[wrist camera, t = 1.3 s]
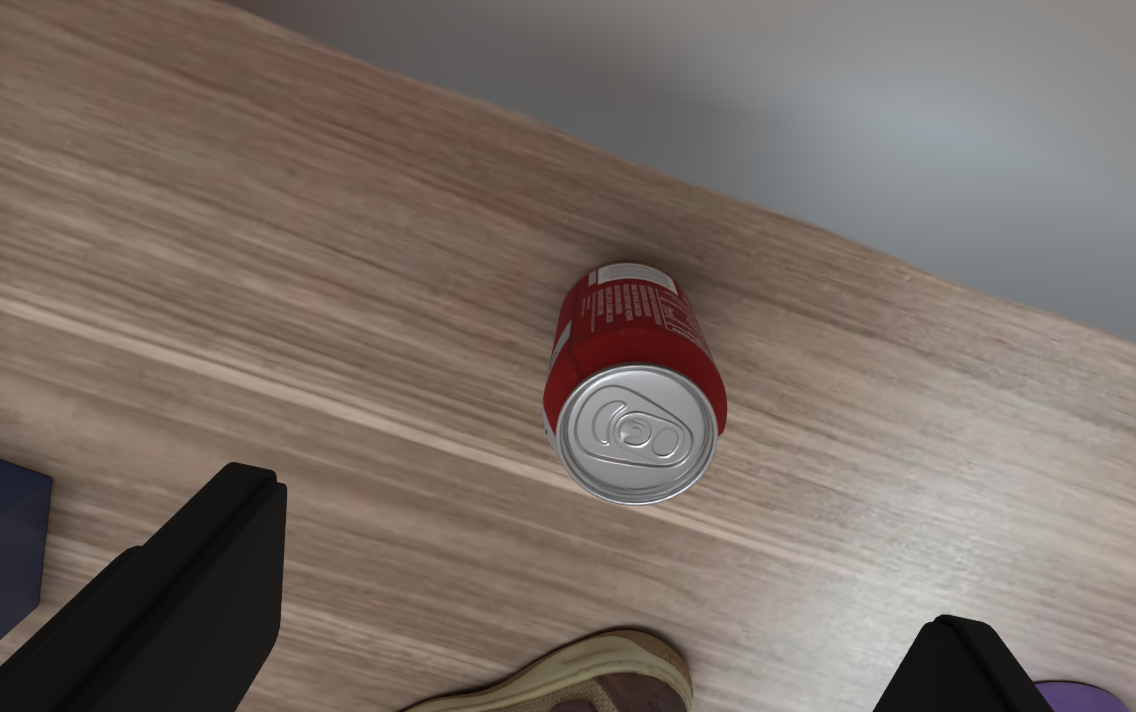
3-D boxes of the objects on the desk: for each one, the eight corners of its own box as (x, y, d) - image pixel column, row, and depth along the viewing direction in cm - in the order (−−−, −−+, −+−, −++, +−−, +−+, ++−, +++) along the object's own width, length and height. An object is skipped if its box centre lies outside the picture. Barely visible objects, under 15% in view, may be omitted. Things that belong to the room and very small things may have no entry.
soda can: (587, 237, 31) (579, 316, 20) (713, 286, 31) (773, 389, 20) (541, 355, 33) (510, 484, 22) (658, 398, 34) (685, 544, 23)
